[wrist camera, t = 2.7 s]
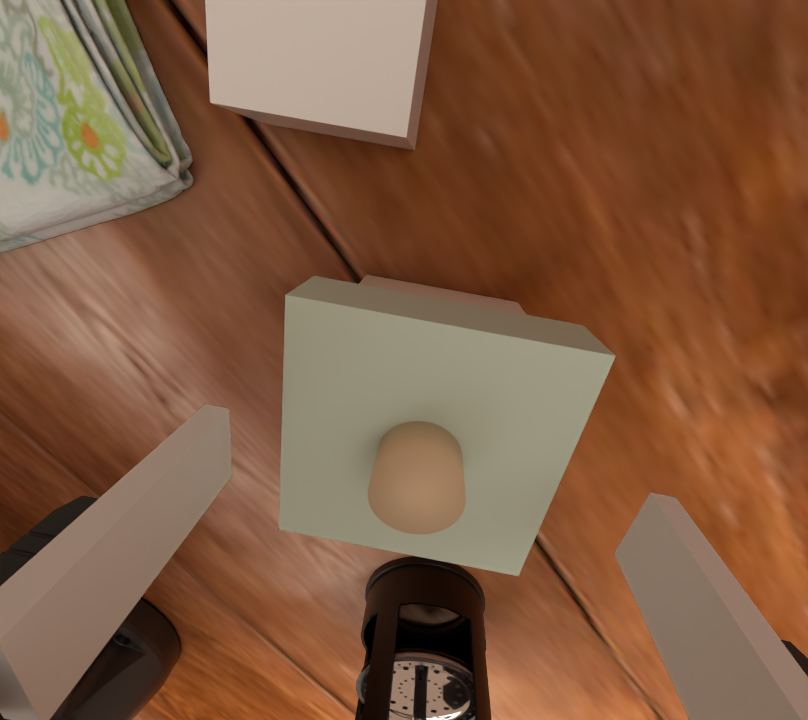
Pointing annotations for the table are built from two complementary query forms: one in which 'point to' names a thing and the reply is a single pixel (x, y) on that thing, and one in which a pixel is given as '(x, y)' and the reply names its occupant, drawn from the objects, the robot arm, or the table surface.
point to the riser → (323, 64)
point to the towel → (80, 121)
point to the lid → (428, 421)
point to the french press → (423, 646)
